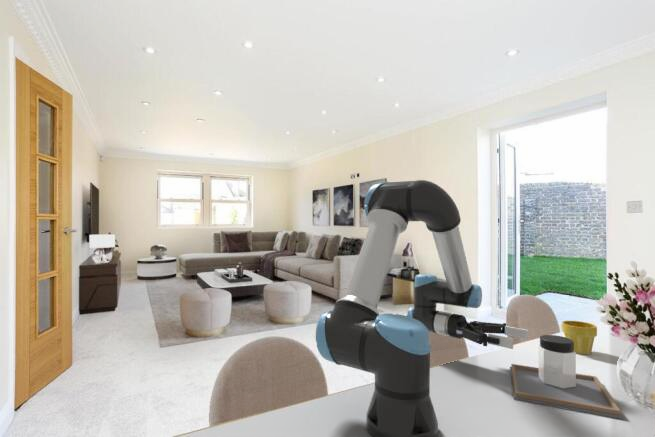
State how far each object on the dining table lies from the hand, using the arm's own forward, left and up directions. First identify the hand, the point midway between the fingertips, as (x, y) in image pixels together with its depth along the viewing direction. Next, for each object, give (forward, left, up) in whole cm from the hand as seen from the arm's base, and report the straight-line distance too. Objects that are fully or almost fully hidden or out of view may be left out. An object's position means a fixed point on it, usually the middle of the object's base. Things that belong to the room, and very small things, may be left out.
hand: (520, 339), depth 105 cm
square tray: (+9, -4, -11) cm, 15 cm away
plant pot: (+21, +36, -12) cm, 43 cm away
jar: (+9, 0, -11) cm, 14 cm away
